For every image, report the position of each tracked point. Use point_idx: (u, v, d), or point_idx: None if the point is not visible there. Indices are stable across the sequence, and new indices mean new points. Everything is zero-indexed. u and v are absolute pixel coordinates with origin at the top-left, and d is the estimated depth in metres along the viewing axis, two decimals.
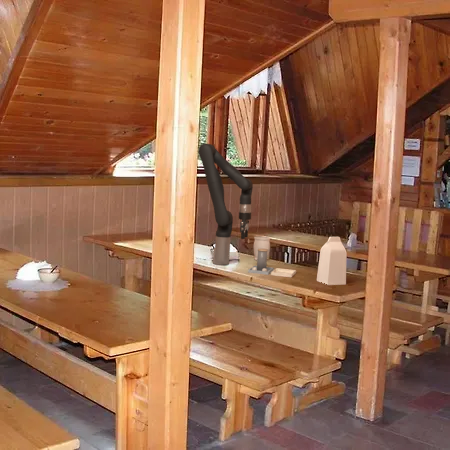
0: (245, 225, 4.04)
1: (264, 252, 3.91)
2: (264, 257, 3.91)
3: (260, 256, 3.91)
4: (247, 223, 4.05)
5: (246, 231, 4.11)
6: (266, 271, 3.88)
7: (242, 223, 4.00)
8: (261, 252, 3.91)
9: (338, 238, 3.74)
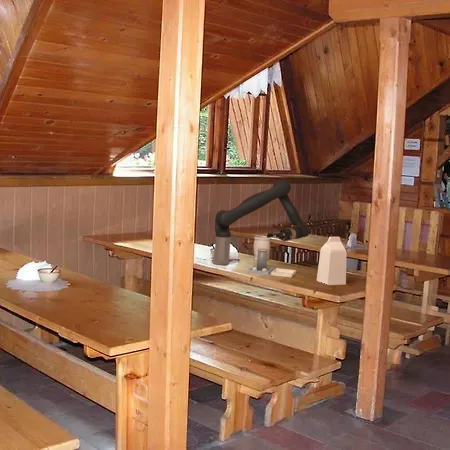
0: None
1: (264, 252, 3.91)
2: (264, 257, 3.91)
3: (260, 256, 3.91)
4: None
5: (271, 236, 4.06)
6: (266, 271, 3.88)
7: (291, 236, 4.05)
8: (261, 252, 3.91)
9: (338, 238, 3.74)
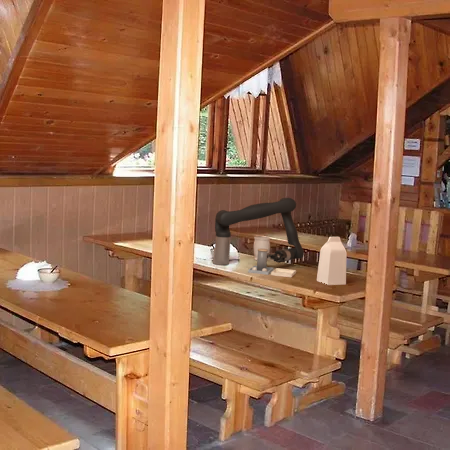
0: None
1: (264, 252, 3.91)
2: (264, 257, 3.91)
3: (260, 256, 3.91)
4: None
5: None
6: (266, 271, 3.88)
7: (286, 258, 4.03)
8: (261, 252, 3.91)
9: (338, 238, 3.74)
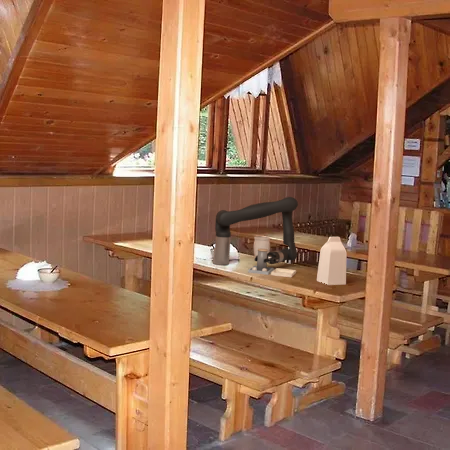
0: None
1: (264, 252, 3.91)
2: (264, 257, 3.91)
3: (260, 256, 3.91)
4: None
5: None
6: (266, 271, 3.88)
7: (277, 260, 3.95)
8: (261, 252, 3.91)
9: (338, 238, 3.74)
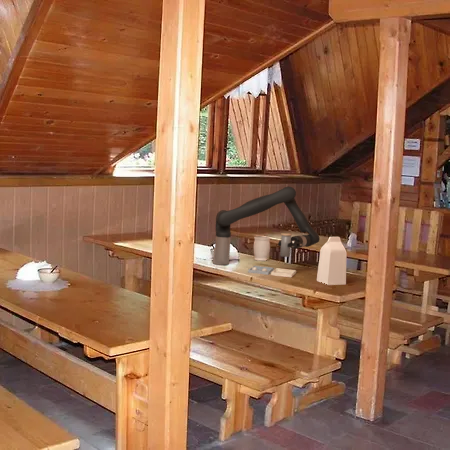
0: (294, 245, 3.93)
1: (288, 236, 3.86)
2: (288, 241, 3.86)
3: (284, 240, 3.86)
4: (293, 246, 3.94)
5: None
6: (266, 271, 3.88)
7: (301, 244, 3.91)
8: (285, 236, 3.86)
9: (338, 238, 3.74)
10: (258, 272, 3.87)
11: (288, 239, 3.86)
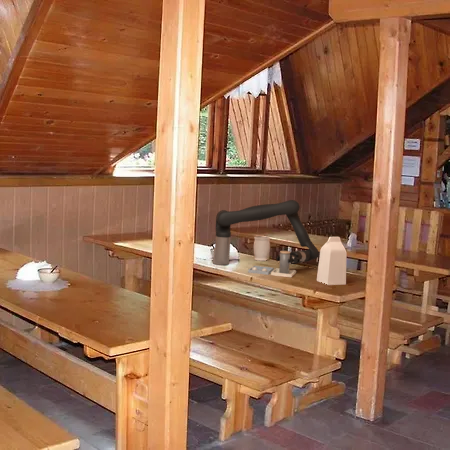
0: None
1: (287, 254, 3.87)
2: (287, 259, 3.87)
3: (283, 258, 3.87)
4: None
5: None
6: (266, 271, 3.88)
7: (301, 260, 3.92)
8: (284, 254, 3.87)
9: (338, 238, 3.74)
10: (258, 272, 3.87)
11: (287, 257, 3.87)
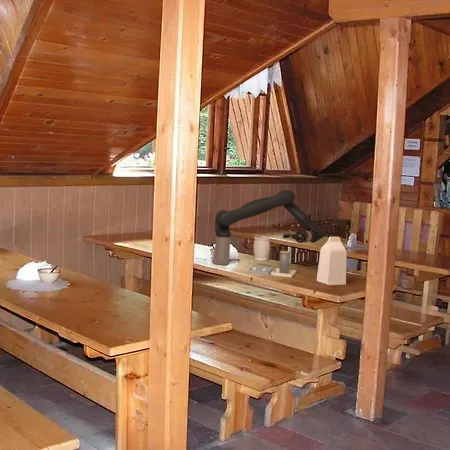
0: None
1: (287, 254, 3.87)
2: (287, 259, 3.88)
3: (283, 258, 3.87)
4: None
5: (287, 236, 4.05)
6: (266, 271, 3.88)
7: (307, 238, 4.03)
8: (284, 254, 3.87)
9: (338, 238, 3.74)
10: (258, 272, 3.87)
11: (287, 257, 3.88)
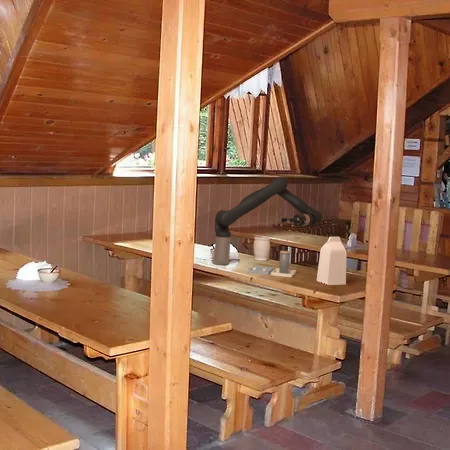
0: None
1: (287, 254, 3.87)
2: (287, 259, 3.88)
3: (283, 258, 3.87)
4: None
5: (285, 220, 4.06)
6: (266, 271, 3.88)
7: (305, 221, 4.04)
8: (283, 254, 3.87)
9: (338, 238, 3.74)
10: (258, 272, 3.87)
11: (287, 257, 3.87)
